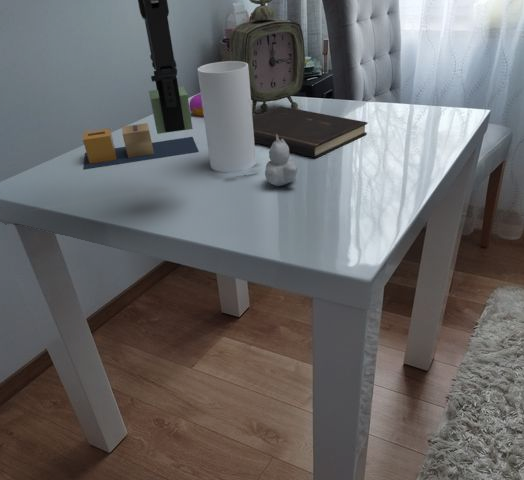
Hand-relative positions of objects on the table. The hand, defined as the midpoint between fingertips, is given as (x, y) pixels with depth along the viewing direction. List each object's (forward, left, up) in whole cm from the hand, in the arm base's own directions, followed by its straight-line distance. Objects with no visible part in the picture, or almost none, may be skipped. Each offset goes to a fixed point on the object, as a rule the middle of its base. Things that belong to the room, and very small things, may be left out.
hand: (173, 124), depth 73 cm
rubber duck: (+16, +1, -12) cm, 20 cm away
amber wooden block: (-13, +27, -11) cm, 32 cm away
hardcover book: (+25, +24, -12) cm, 36 cm away
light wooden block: (-6, +27, -11) cm, 30 cm away
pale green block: (0, 0, 0) cm, 0 cm away
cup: (+10, +13, -12) cm, 20 cm away
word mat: (-6, +27, -12) cm, 30 cm away
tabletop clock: (+24, +43, -12) cm, 50 cm away
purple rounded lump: (+12, +49, -12) cm, 52 cm away
